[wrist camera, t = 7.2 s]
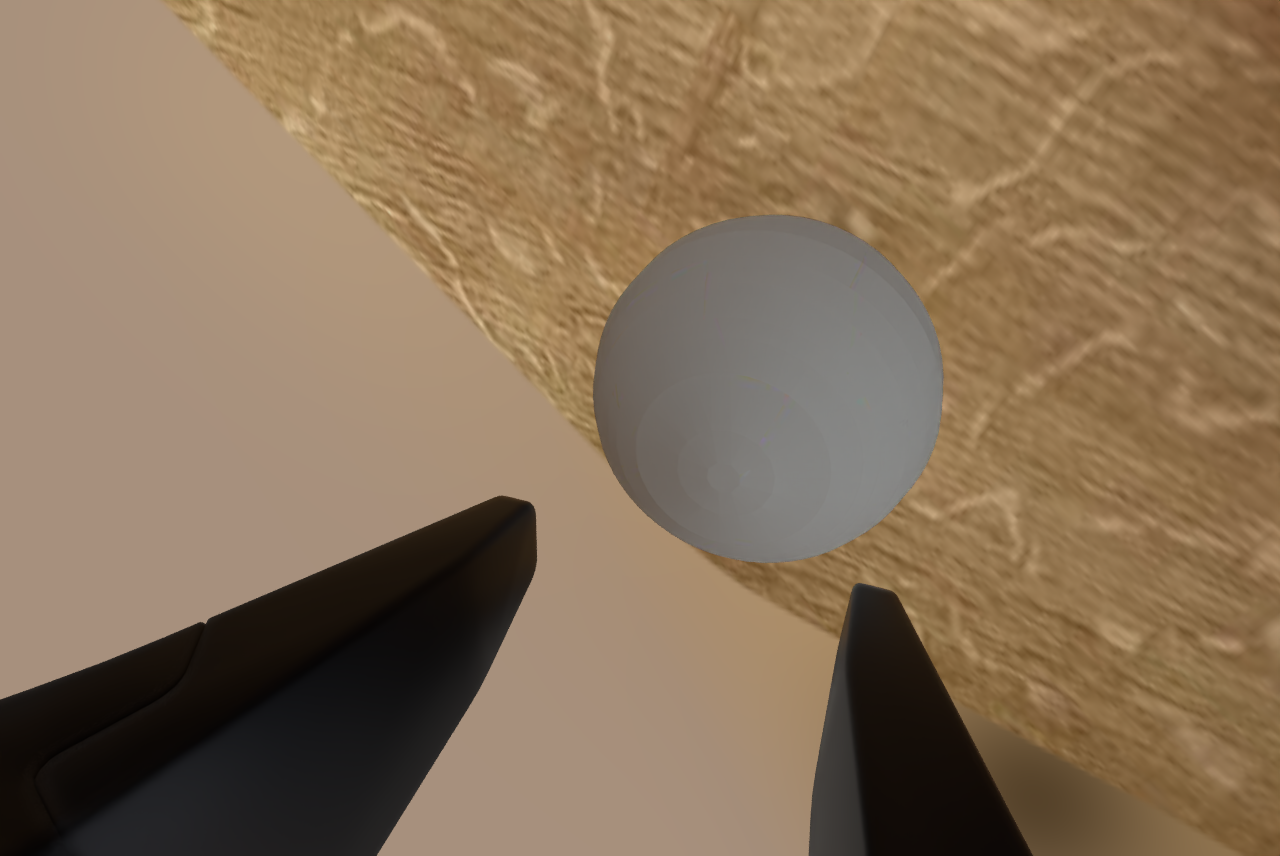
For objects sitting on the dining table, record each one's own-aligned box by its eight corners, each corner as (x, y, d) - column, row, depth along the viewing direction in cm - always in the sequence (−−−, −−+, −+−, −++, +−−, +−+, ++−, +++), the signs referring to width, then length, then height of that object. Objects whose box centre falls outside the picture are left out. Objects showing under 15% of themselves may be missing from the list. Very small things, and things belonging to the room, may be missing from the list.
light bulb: (964, 150, 16) (990, 304, 8) (918, 381, 19) (903, 676, 11) (713, 136, 18) (522, 255, 10) (703, 353, 21) (546, 592, 12)
